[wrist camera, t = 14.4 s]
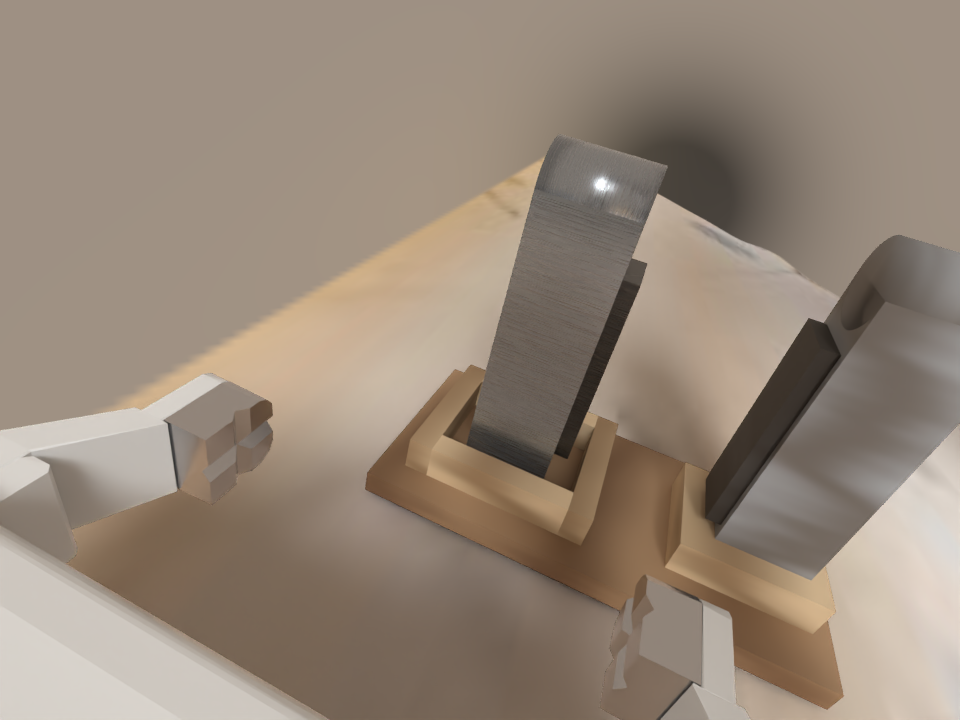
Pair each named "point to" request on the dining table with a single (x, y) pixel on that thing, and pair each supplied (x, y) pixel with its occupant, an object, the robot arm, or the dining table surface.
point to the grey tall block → (564, 302)
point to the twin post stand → (724, 474)
